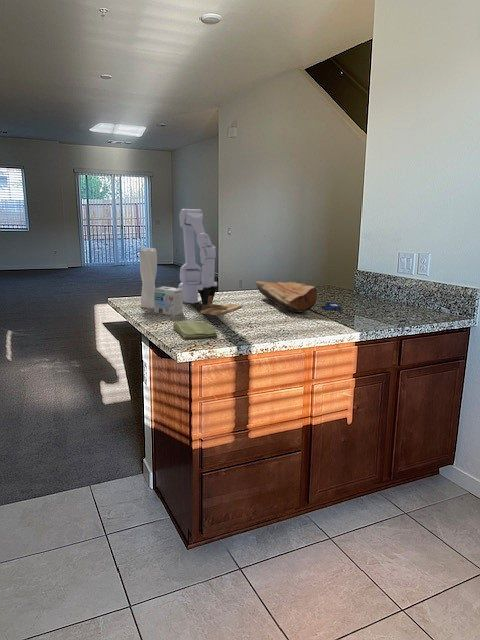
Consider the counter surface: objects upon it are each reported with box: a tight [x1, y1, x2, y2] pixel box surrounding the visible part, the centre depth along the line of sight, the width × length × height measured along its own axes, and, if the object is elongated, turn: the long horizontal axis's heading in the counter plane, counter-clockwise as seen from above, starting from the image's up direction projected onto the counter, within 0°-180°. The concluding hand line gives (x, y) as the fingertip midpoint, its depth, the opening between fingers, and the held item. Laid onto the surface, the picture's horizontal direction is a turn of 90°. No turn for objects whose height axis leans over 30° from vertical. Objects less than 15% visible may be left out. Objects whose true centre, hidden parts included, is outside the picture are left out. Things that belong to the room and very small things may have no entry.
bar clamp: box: [321, 301, 354, 319], centre depth 216 cm, size 32×2×10 cm
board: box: [200, 302, 243, 317], centre depth 211 cm, size 9×23×1 cm, turn 155°
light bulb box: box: [153, 286, 184, 317], centre depth 200 cm, size 11×7×11 cm, turn 62°
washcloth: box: [172, 321, 218, 340], centre depth 170 cm, size 13×18×3 cm
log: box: [255, 280, 318, 313], centre depth 226 cm, size 42×18×15 cm, turn 14°
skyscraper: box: [139, 244, 158, 309], centre depth 210 cm, size 8×8×28 cm
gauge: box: [201, 295, 228, 310], centre depth 210 cm, size 12×4×7 cm, turn 65°
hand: (207, 303), depth 212 cm, fingers closed on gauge, 4 cm apart
